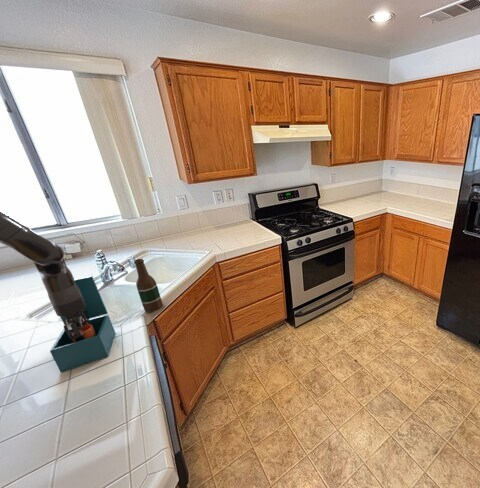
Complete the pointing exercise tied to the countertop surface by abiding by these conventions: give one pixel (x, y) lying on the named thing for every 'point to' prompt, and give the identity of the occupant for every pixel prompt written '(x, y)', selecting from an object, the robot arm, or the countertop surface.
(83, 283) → the lid
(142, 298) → the beer bottle
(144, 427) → the countertop surface
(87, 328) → the cup
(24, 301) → the countertop surface
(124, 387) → the countertop surface
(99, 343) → the box
